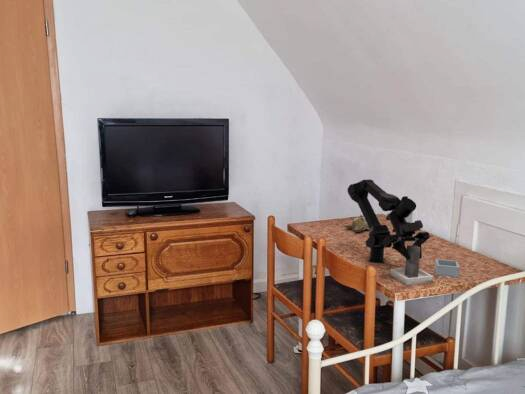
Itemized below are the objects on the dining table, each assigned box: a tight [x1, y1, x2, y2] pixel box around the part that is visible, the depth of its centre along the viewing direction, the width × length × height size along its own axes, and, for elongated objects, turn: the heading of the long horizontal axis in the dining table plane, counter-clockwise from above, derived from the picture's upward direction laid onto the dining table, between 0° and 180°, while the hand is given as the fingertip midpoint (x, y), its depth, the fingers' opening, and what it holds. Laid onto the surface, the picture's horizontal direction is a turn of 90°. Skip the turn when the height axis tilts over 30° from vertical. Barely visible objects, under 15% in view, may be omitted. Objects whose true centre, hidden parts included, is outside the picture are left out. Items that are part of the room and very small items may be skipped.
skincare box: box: [405, 211, 414, 223], centre depth 259 cm, size 6×4×12 cm
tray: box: [389, 267, 434, 286], centre depth 194 cm, size 12×12×2 cm
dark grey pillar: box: [404, 244, 421, 278], centre depth 193 cm, size 4×4×12 cm
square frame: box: [434, 258, 460, 278], centre depth 202 cm, size 8×8×4 cm
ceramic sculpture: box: [343, 214, 370, 233], centre depth 265 cm, size 11×9×15 cm
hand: (415, 258), depth 192 cm, fingers open, 5 cm apart
